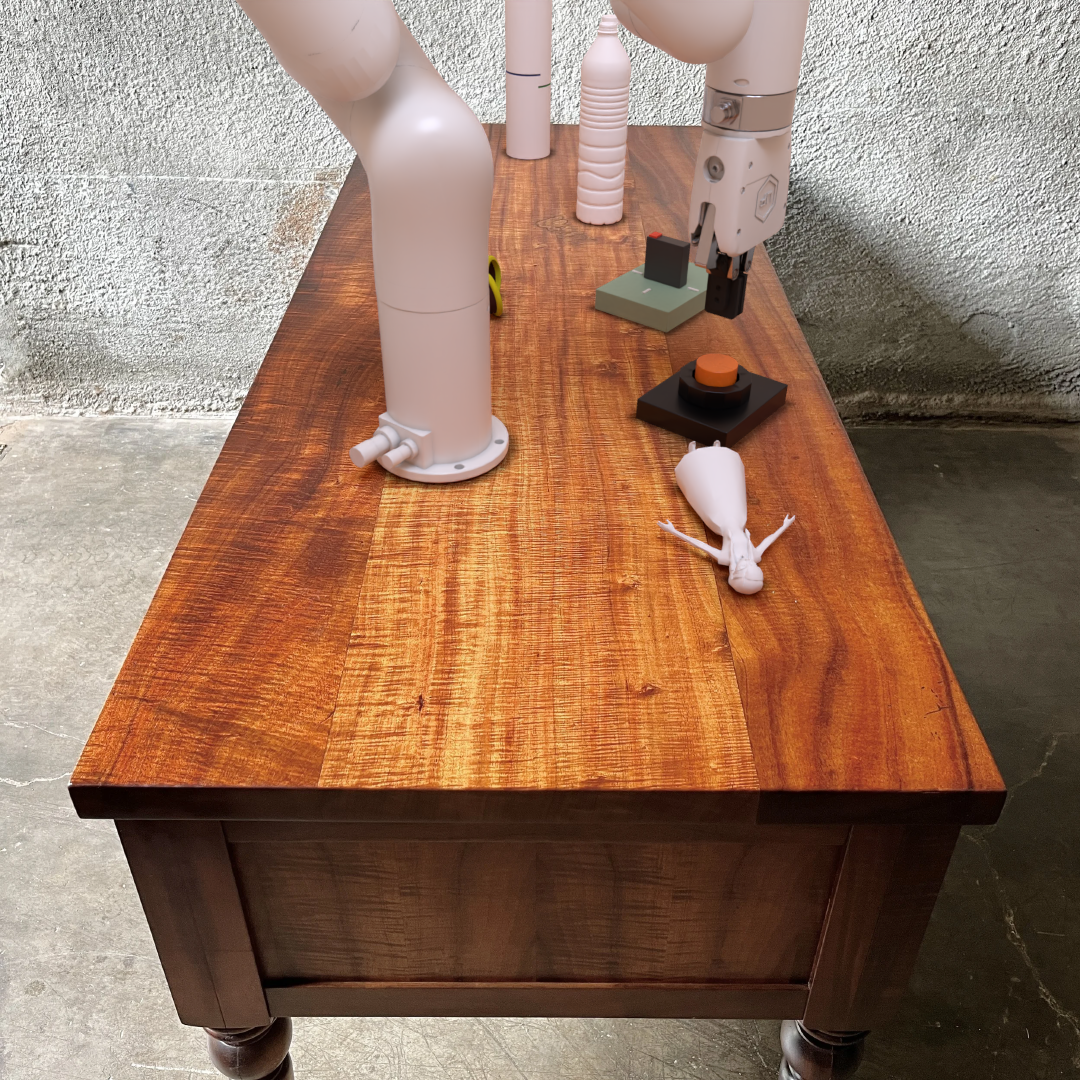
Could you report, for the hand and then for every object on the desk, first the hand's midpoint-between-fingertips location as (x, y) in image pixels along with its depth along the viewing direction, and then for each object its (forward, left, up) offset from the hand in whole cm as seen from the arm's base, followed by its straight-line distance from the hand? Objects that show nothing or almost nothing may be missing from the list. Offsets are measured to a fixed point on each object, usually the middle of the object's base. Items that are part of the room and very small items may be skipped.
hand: (723, 312), depth 97 cm
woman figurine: (-17, -12, -10) cm, 23 cm away
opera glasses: (+3, +34, -10) cm, 35 cm away
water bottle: (+37, +41, -10) cm, 56 cm away
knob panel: (+18, +18, -10) cm, 27 cm away
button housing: (-1, 0, -10) cm, 10 cm away
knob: (+18, +18, -8) cm, 27 cm away
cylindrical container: (+53, +67, -10) cm, 86 cm away
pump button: (-1, 0, -7) cm, 7 cm away
